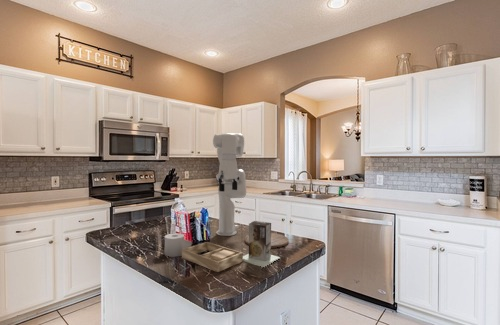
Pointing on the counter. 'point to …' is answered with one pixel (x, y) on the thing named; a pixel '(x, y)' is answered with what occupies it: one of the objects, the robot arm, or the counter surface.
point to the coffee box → (260, 240)
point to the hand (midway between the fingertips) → (228, 190)
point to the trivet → (274, 240)
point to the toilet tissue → (175, 244)
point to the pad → (260, 262)
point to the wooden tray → (206, 260)
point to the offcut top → (222, 255)
